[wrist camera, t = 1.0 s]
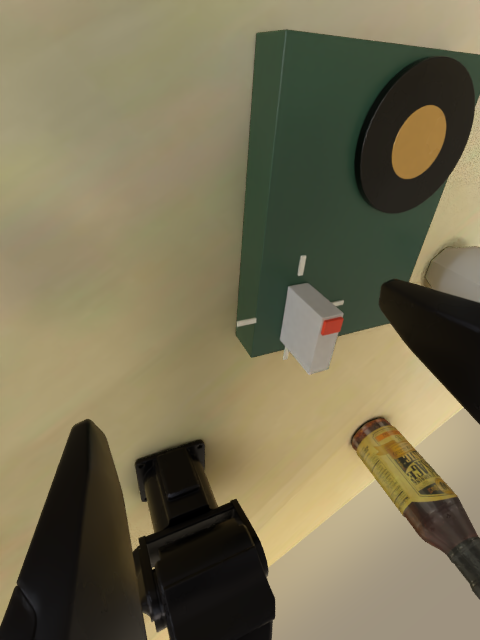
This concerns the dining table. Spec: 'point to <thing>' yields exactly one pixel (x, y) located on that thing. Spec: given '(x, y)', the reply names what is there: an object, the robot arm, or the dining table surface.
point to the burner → (414, 134)
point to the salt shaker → (456, 272)
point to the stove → (321, 183)
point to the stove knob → (310, 327)
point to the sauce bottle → (420, 495)
